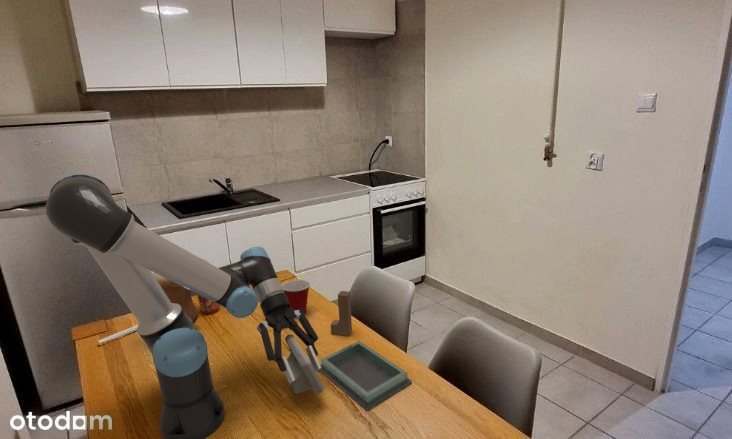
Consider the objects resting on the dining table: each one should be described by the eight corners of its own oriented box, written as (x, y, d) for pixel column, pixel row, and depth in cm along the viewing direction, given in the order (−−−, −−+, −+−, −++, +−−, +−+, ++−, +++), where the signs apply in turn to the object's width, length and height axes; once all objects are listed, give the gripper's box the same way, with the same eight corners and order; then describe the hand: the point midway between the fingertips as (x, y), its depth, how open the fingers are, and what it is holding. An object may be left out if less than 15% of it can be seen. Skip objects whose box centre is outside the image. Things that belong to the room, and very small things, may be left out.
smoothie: (199, 307, 166) (191, 260, 160) (222, 304, 168) (215, 256, 162) (198, 318, 158) (190, 268, 152) (222, 313, 160) (214, 264, 154)
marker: (152, 323, 156) (151, 317, 155) (154, 325, 155) (153, 319, 154) (98, 345, 143) (96, 339, 143) (100, 347, 142) (98, 341, 141)
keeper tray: (367, 411, 108) (366, 399, 107) (317, 369, 125) (317, 359, 124) (411, 383, 118) (411, 372, 117) (360, 348, 135) (359, 338, 134)
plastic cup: (315, 306, 163) (313, 277, 160) (309, 320, 153) (306, 290, 149) (288, 306, 164) (285, 277, 161) (280, 320, 154) (276, 290, 150)
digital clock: (325, 396, 109) (323, 360, 106) (289, 403, 106) (287, 366, 103) (314, 360, 124) (313, 327, 121) (283, 365, 121) (280, 332, 118)
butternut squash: (158, 331, 150) (145, 265, 143) (198, 320, 156) (188, 257, 149) (160, 350, 138) (146, 280, 131) (203, 338, 144) (192, 270, 137)
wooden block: (352, 331, 145) (350, 291, 141) (349, 336, 142) (346, 295, 138) (334, 329, 147) (331, 289, 142) (330, 334, 144) (328, 294, 139)
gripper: (299, 293, 128) (331, 364, 120) (234, 314, 115) (266, 395, 108) (307, 282, 122) (342, 356, 114) (240, 303, 110) (274, 388, 102)
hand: (305, 375), depth 111 cm, fingers closed on digital clock, 7 cm apart
